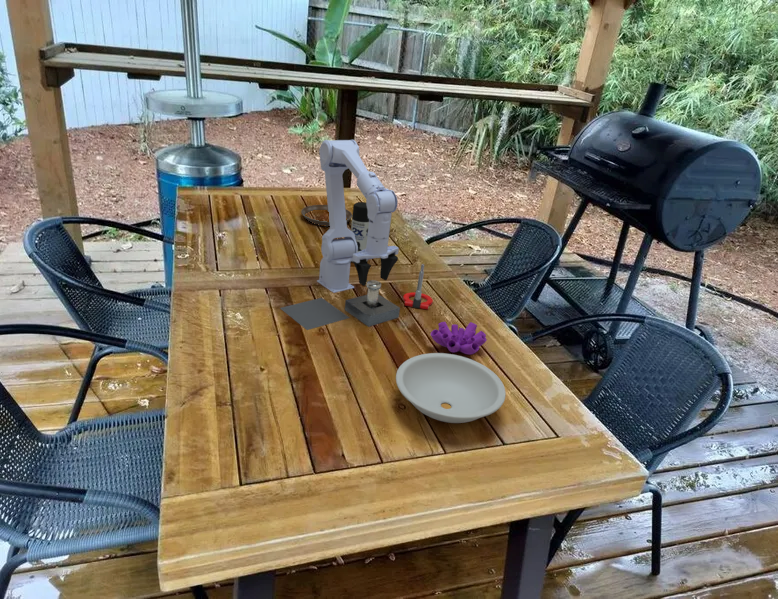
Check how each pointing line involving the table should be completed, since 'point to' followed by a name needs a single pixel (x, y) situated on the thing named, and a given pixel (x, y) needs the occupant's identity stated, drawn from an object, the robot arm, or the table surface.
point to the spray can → (360, 224)
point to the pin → (373, 293)
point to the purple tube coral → (459, 338)
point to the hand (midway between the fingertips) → (373, 281)
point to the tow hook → (418, 295)
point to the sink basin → (450, 387)
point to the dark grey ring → (321, 207)
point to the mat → (314, 313)
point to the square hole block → (372, 310)
